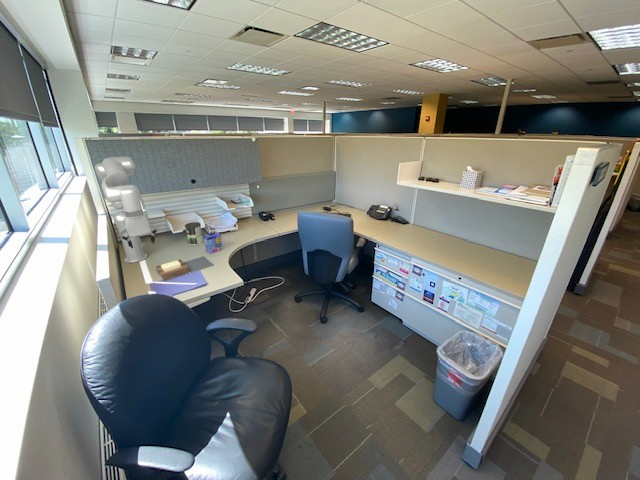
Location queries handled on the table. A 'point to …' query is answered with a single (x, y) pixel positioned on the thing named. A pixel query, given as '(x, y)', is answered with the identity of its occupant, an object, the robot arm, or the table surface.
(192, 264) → the mat
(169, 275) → the block
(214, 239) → the ink cartridge box
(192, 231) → the coffee can
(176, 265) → the notepad
